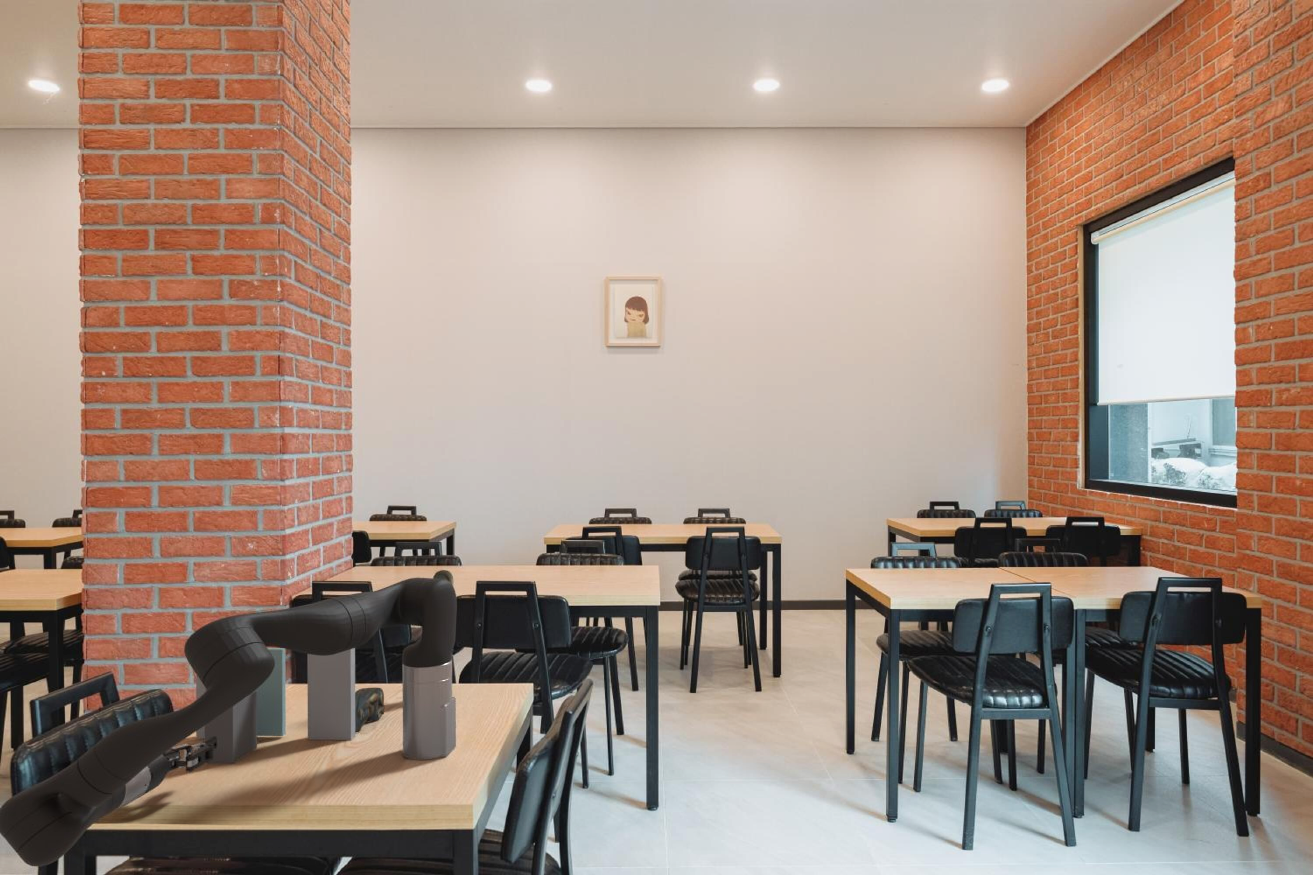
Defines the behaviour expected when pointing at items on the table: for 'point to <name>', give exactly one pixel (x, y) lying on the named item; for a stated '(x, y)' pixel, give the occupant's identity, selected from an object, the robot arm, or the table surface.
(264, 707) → the door
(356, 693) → the sculpture
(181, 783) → the table surface
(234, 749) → the doorstop block
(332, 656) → the wall frame
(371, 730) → the table surface
